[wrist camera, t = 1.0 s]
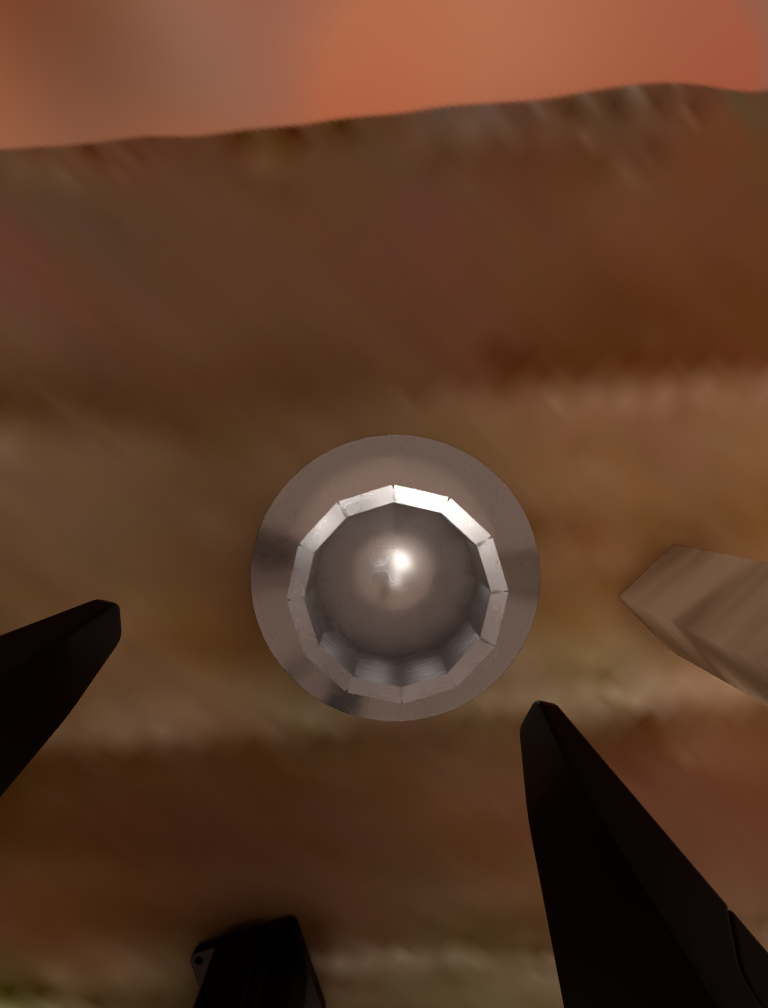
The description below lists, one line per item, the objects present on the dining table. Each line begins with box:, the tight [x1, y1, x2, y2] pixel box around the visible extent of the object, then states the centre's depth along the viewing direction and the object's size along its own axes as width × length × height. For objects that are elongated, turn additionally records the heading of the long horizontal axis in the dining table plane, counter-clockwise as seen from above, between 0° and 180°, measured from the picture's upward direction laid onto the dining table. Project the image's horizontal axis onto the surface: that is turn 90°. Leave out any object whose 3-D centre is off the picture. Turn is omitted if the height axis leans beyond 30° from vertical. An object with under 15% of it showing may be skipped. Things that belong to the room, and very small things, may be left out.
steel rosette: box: [251, 435, 540, 721], centre depth 20 cm, size 16×16×4 cm
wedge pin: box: [619, 544, 768, 706], centre depth 18 cm, size 4×4×9 cm
